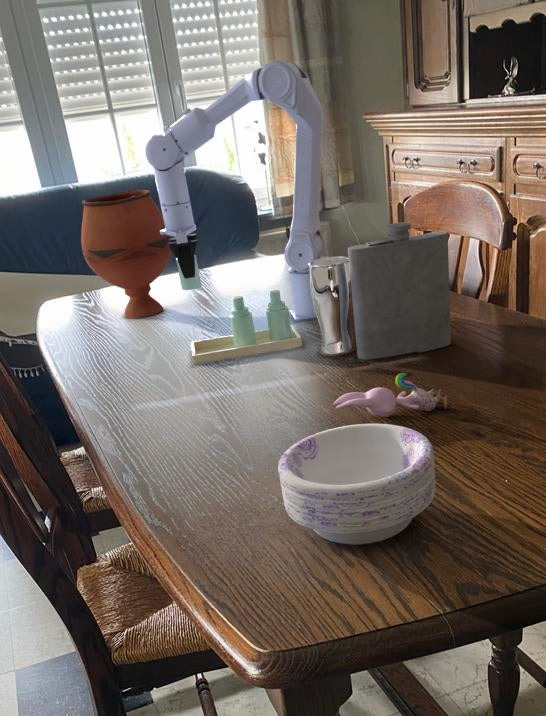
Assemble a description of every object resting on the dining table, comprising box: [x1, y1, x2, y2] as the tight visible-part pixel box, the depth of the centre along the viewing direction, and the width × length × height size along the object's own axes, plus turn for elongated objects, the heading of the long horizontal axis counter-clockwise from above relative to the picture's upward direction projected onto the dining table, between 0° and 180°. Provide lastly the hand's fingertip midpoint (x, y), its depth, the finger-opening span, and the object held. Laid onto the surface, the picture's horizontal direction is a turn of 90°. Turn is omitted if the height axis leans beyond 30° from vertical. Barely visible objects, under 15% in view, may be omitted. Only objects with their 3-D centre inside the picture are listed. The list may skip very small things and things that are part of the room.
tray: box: [190, 324, 303, 365], centre depth 134 cm, size 19×9×2 cm, turn 99°
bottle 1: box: [229, 295, 257, 348], centre depth 132 cm, size 4×4×9 cm
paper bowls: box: [277, 423, 436, 546], centre depth 74 cm, size 15×15×8 cm
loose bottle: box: [175, 254, 202, 291], centre depth 150 cm, size 4×4×9 cm
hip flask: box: [347, 221, 452, 361], centre depth 117 cm, size 16×4×20 cm, turn 103°
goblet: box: [80, 189, 173, 319], centre depth 163 cm, size 19×19×25 cm
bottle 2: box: [265, 289, 292, 342], centre depth 132 cm, size 4×4×9 cm
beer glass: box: [309, 255, 357, 357], centre depth 123 cm, size 7×7×15 cm
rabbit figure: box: [333, 372, 448, 418], centre depth 98 cm, size 6×6×15 cm
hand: (189, 275), depth 151 cm, fingers closed on loose bottle, 4 cm apart
